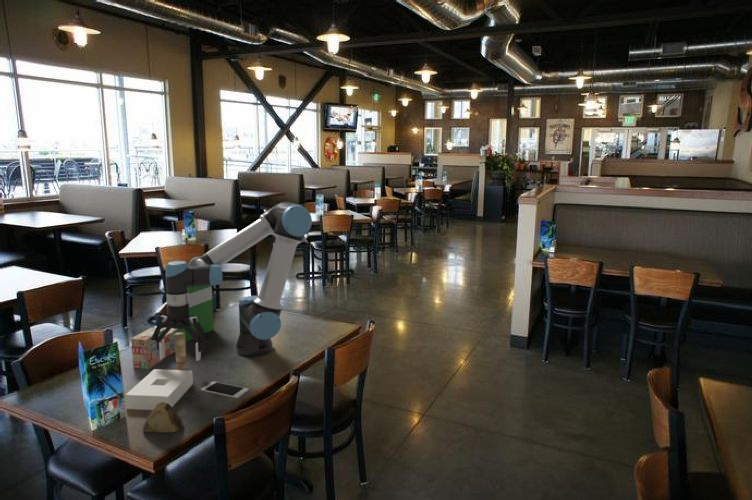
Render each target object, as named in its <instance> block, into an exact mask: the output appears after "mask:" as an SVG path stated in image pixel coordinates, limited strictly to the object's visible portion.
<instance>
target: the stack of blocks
mask: <svg viewBox="0 0 752 500" xmlns="http://www.w3.org/2000/svg"><path fill="white" fill-rule="evenodd" d="M155 329H156V327H149V328H148V329H145V330H144V331H142V332H140V333H139V334H137V335H134V336H133V337H131V353H132V364H133V369H140V370H149V369H151V368H152V367H154V366H156V365H157V364H159V363H160V362H162V361H163V360H164V359H166V358H167V357H169V356H171V355H172V354H174V353H175V336H174V334H176V333H178V330H177V329H174V328H171V329H170V330H169V332H168V333H167V334H166V335H165V336H164V337H163V339H162V340H164V345H165V357H164V358H163V359H160V352H159V350H157V342H156V341H155V340H151V338H152V335H153V333H154V331H155ZM165 329H166V327H163V328H161V330H160V332H159V334H158V337H159V336H160V335H161V334H162V332H163V331H164V330H165Z"/></svg>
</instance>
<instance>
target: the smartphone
mask: <svg viewBox="0 0 752 500" xmlns="http://www.w3.org/2000/svg"><path fill="white" fill-rule="evenodd" d="M249 390H250V389H249V388H246V387H242V386H237V385H233V384H228V383H223V382H219V381H211V382H210V383H208V384H207V385H205V386H203V387H201V389H200V391H201V392H205V393H210V394H214V395H219V396H223V397H228V398H234V399H239V398H240V397H242V396H243V395H245V394H246V393H247V392H249Z"/></svg>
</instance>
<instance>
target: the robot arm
mask: <svg viewBox="0 0 752 500" xmlns="http://www.w3.org/2000/svg"><path fill="white" fill-rule="evenodd" d="M312 224H313V220H312V216H311V213H310V211H309V210H308V209H307V208H306V207H304V206H303V205H300V204H297V203H294V202H291V201H283V202H280V203H278V204H275V205H274V206H272V207H271V208H270V209H267V210H266V211H264V212H263V213H262V214H260V216H259V218H258V219H257V220H256V221H254V222H252V223H250V225H248V226H246V227H245V228H243V229H242V230H239V231H238V232H236V233H235V234H233V235H232V236H231V237H229V238H228V239H226V240H225V241H223V242H221V243H219V244H217V246H214V247H213V248H212V249H210V250H208V251H207V252H206V253H203V254H202V255H201V256H195V257H193V258H191V259H190V260H189V263H188V262H187V261H184V260H174V261H173V260H172V261H169V262H167V263H166V264H165V289H166V291H165V292H166V293H165V294H166V304H167V305H166V312H167V313H166V315H167V316H166V315H165V314H162V315H160V316H159V317H158V323H157V325H156V327H155V328H156V329H155V331H154V333H153V335H152V338H151V340H155V341H156V342H157V350H159V352H160V359H163V358H164V357H165V345H164V340H162V339H163V337H164V336H165V335H166V334H167V333H168V332H169V330H170V329H171V328H172V327H173V328H174V329H183V328H184V329H185V330H186V331H187V332H188V333H189V334H190V335H191V336H192V337H193V338H194V339H193V340H194V341H195V342H196V343H195V361H196V362H198V361H201V359H202V356H201V355H202V354H201V353H202V351H203V350H204V344H203V343H206V342H207V341H208V339H209V338H208V336H207V333H206V334H205V332H204V330H203V329H202V327H201V325H200V323H199V319H198V316H196V317H190V316H189V304H188V302H189V293H188V287H196V286H209V285H212V286H218V285H220V284H222V282H223V270H222V269H223V268H222V266H223V265H225V264H227V263H228V262H229V261H232V260H233V259H234V258H235V257H238V256H239V255H240V254H242V253H244V252H245V251H247V250H248V249H250V248H251V247H253V246H255V245H256V244H258V243H259V242H260V241H262V240H264V239H265V238H267V237H268V236H269V235H270V236H271V235H272V236H274V237H275V240H274V244H273V247H272V250H271V254H270V257H269V261H268V265H267V268H266V271H265V274H264V277H263V281H262V283H261V288H260V292H259V295H250V296H249V295H248V296H247V295H246V296H244V297H241V298H240V299H239V300H238V316H239V317H238V318H239V320H238V321H239V324H238V325H239V334H238V338H237V341H236V344H235V352H236V353H237V354H238V355H241V356H244V357H245V356H246V357H257V356H263V355H267V354H269V353H270V352H272V351H273V347H274V346H273V341H272V338H274V337H275V336H277V334H279V333H280V331H281V328H282V321H281V318H280V317H281V314H282V310H283V306H282V304H281V300H282V297H283V293H284V291H285V287H286V285H287V284H286V283H287V280H288V276H289V274H290V269H291V266H292V263H293V259H294V258H295V254H296V250H297V246H298V245H299V244H301V243H303V240H304V237H305V235H306V234H307V233H309V231H310V229H311V228H312ZM166 321H167V323H168V325H167V326H166V327H165V328H166V329H165V330H164V331H163V332H162V334H161V335H160V336H159V337H158V334H159V332H160V330H161V329H163V328H162V327H163V326H164V324H165V322H166ZM190 321H191V322H192V323H193V325H194V327H195V329H196V331H197V332H198V333H197V332H196V331H195V330H194V329H193V328H192V326H191V324H190V323H189V322H190ZM163 360H164V359H163Z"/></svg>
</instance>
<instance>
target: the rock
mask: <svg viewBox="0 0 752 500" xmlns="http://www.w3.org/2000/svg"><path fill="white" fill-rule="evenodd" d="M184 427H185V424H184V421H183V420H182V418H181V416H179V414H178V413H177V411H176V410H175V408H174V407H172V406H170V405H169V404H168V403H165V402H161V403H159V404H157V405H156V407H155V408H154V409H153V410H151V412H150V413H149V414H148V416H147V418H146V420H145V423H144V425H143V429H142V431H143V432H148V433H149V432H150V433H176V432H178V431H180V430H182V429H183V428H184Z"/></svg>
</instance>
